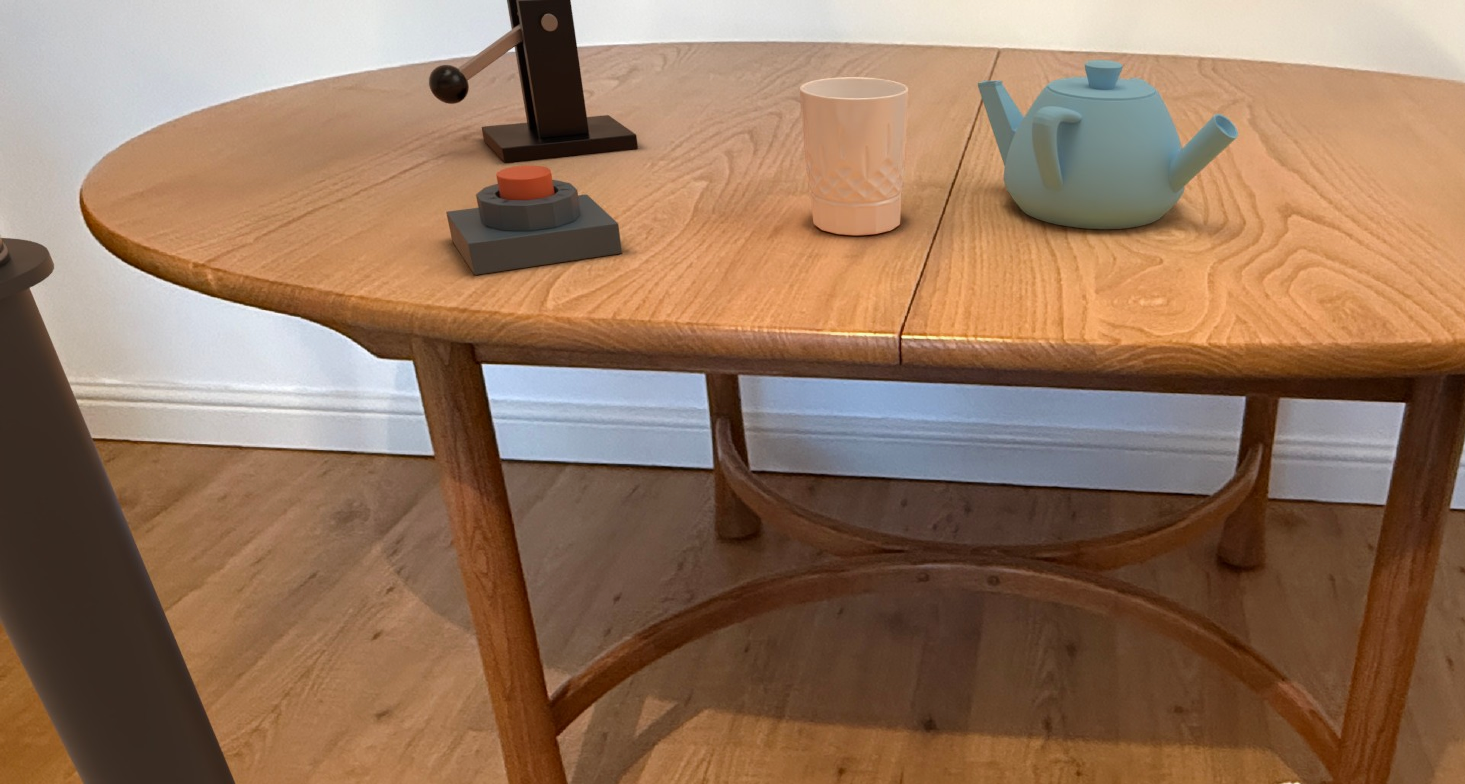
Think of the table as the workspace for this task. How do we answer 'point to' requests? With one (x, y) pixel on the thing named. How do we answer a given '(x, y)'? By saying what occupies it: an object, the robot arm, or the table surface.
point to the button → (525, 183)
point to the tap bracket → (552, 92)
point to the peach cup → (855, 152)
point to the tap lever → (469, 69)
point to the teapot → (1098, 149)
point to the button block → (532, 230)
